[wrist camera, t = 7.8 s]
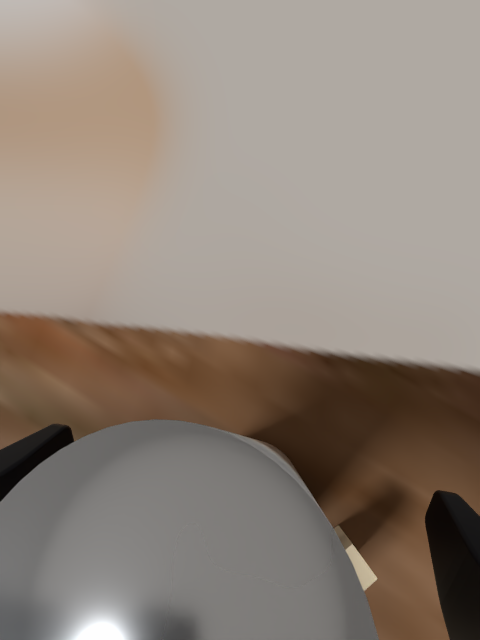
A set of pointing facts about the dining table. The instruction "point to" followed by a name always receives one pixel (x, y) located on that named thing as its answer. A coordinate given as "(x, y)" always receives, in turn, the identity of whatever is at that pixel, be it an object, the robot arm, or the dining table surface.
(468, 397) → the dining table surface
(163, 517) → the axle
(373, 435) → the dining table surface
